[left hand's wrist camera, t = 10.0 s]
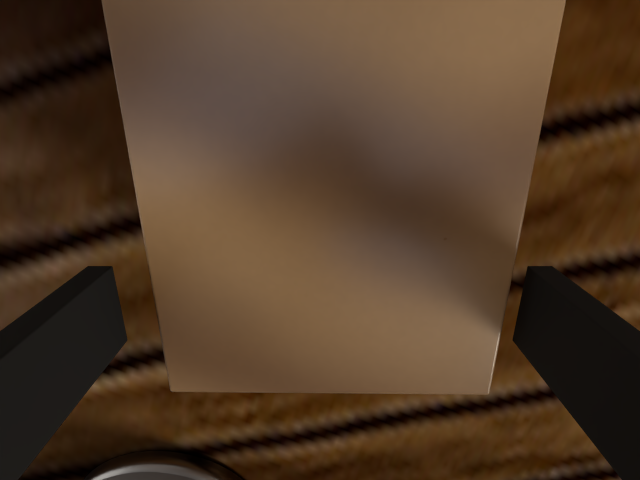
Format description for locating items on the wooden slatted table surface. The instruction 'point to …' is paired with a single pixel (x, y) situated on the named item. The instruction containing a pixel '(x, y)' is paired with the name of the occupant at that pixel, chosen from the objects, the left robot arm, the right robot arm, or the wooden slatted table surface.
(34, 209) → the wooden slatted table surface
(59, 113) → the wooden slatted table surface
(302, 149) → the cabinet
